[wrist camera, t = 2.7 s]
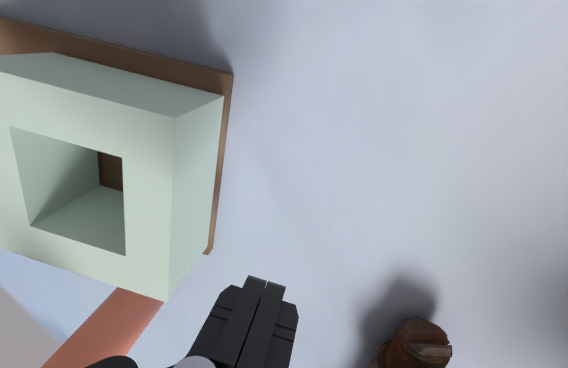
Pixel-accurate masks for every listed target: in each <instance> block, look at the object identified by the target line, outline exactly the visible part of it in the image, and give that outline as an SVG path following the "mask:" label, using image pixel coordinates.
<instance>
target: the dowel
mask: <svg viewBox="0 0 568 368" xmlns="http://www.w3.org/2000/svg"><path fill="white" fill-rule="evenodd" d="M163 303H164V302H163V301H160V300H157V299H154V298H151V297H147V296H144V295H141V294H138V293H135V292H132V291H129V290H126V289H123V288H120V287H117V288H116V289H115V290H114V292H113V293H112V294H111V295H110V296H109V297H108V298H107V299H106V300H105V301H104V302H103V303H102V304H101V305H100V306H99V307H98V308H97V309H96V310H95V311H94V312H93V314H92V315H91V316H90V317H89V318H88V319H87V320H86V321H85V322H84V323H83V324H82V325H81V326H80V327H79V328H78V329H77V330H76V331H75V332H74V333H73V334H72V336H71V337H70V338H69V339H68V340H67V341H66V342H65V343H64V344H63V345H62V346H61V347H60V348H59V349H58V350H57V351H56V353H54V355H52V357H51V358H50V359H49V360H48V361H47V362H46V363H45V364H44V365H43V366H42V367H41V368H85V367H87V366H89V365H91V364H93V363H96V362H98V361H100V360H102V359H105V358H107V357H111V356H117V355H121V356H126V354H127V353H128V351H129V350H130V349H131V347H132V346H133V345H134V343H135V342H136V340H137V339H138V338H139V336H140V335H141V334H142V332H143V331H144V329H145V328H146V327H147V325H148V324H149V323H150V321H151V320H152V318H153V317H154V316H155V314H156V313H157V312H158V310H159V309H160V307H161V306H162V305H163Z"/></svg>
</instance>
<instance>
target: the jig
mask: <svg viewBox="0 0 568 368" xmlns="http://www.w3.org/2000/svg"><path fill="white" fill-rule="evenodd" d="M48 52H54V53H57V54H61V55H65V56H69V57H73V58H77V59H81V60H85V61H89V62H93V63H97V64H101V65H105V66H108V67H112V68H116V69H120V70H124V71H128V72H132V73H136V74H140V75H144V76H148V77H152V78H156V79H160V80H163V81H167V82H171V83H175V84H179V85H183V86H187V87H191V88H195V89H199V90H203V91H207V92H211V93H214V94H218V95H222V96H224V102H223V111H222V120H221V129H220V138H219V147H218V156H217V165H216V174H215V183H214V192H213V201H212V210H211V218H210V227H209V236H208V245H207V248H206V249H205V250H204V252H203V253H202V254H206V255H208V254H209V253H210V251H211V250H212V248H213V241H214V233H215V225H216V217H217V208H218V200H219V192H220V184H221V175H222V167H223V159H224V151H225V143H226V134H227V126H228V118H229V110H230V101H231V93H232V85H233V77H234V74H232V73H228V72H224V71H220V70H216V69H212V68H208V67H204V66H200V65H196V64H192V63H188V62H184V61H180V60H176V59H172V58H167V57H163V56H159V55H155V54H151V53H147V52H143V51H139V50H135V49H131V48H127V47H123V46H119V45H115V44H111V43H107V42H103V41H99V40H95V39H91V38H86V37H82V36H78V35H74V34H70V33H66V32H62V31H58V30H54V29H50V28H46V27H42V26H38V25H34V24H30V23H26V22H22V21H18V20H14V19H10V18H6V17H1V16H0V55H12V54H30V53H48ZM97 155H98V168H99V181H100V185H101V186H104V187H107V188H111V189H114V190H118V191H121V192H123V168H122V158H121V157H118V156H114V155H111V154H107V153H104V152H100V151H97Z"/></svg>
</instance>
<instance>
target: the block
mask: <svg viewBox="0 0 568 368" xmlns="http://www.w3.org/2000/svg"><path fill="white" fill-rule="evenodd" d="M223 102H224V96H222V95H218V94H214V93H211V92H207V91H203V90H199V89H195V88H191V87H187V86H183V85H179V84H175V83H171V82H167V81H163V80H160V79H156V78H152V77H148V76H144V75H140V74H136V73H132V72H128V71H124V70H120V69H116V68H112V67H108V66H105V65H101V64H97V63H93V62H89V61H85V60H81V59H77V58H73V57H69V56H65V55H61V54H57V53H54V52H48V53H30V54H12V55H0V249H3V250H6V251H9V252H13V253H16V254H19V255H22V256H25V257H28V258H31V259H34V260H37V261H40V262H43V263H46V264H49V265H52V266H55V267H59V268H62V269H65V270H68V271H71V272H74V273H77V274H80V275H83V276H86V277H89V278H92V279H95V280H98V281H101V282H105V283H108V284H111V285H114V286H117V287H120V288H123V289H126V290H129V291H132V292H135V293H138V294H141V295H144V296H147V297H151V298H154V299H157V300H160V301H163V302H166V303H168V301H169V300H170V299H171V297H172V296H173V294H174V293H175V292H176V290H177V289H178V287H179V286H180V284H181V283H182V282H183V280H184V279H185V277H186V276H187V275H188V273H189V272H190V270H191V269H192V267H193V266H194V265H195V263H196V262H197V260H198V259H199V258H200V256H201V255H202V253H203V252H204V250H205V249H206V248H207V245H208V236H209V227H210V218H211V210H212V201H213V192H214V183H215V174H216V165H217V156H218V147H219V138H220V129H221V120H222V111H223ZM97 151H100V152H104V153H107V154H111V155H114V156H118V157H121V158H122V168H123V192H121V191H118V190H114V189H111V188H107V187H104V186H101V185H100V181H99V168H98V155H97Z"/></svg>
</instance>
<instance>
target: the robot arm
mask: <svg viewBox="0 0 568 368" xmlns="http://www.w3.org/2000/svg"><path fill="white" fill-rule="evenodd" d="M266 282H267V281H266V280H262V279H259V278H256V277H253V276H250V275H249V276H248V277H247V279H246V281H245V283H244V286H243V288H240V287H237V286H234V285H230V286H229V287H227V288H226V289H225V290H224V291H222V292H221V293H220V295H219V297H218V299H217V301H216V302H215V305H214V306H213V308H212V310H211V312H210V314H209V316H208V317H207V319H206V321H205V323H204V325H203V327H202V329H201V330H200V332H199V334H198V336H197V338H196V340H195V342H194V343H193V345H192V347H191V349H190V351H189V352H188V354H187V355H186V356H185V358H183V359H182V360H180V361H179V362H178V363H177V364H175V365H173V366H170V367H168V368H288V367H289V363H290V358H291V353H292V348H293V342H294V338H295V332H296V328H297V323H298V318H299V317H298V313H297V309H296V305H294V304H291V303H288V302H285V301H282V299H283V295H284V292H285V288H286V287H285V286H282V285H279V284H276V283H272V282H269V281H268V282H267V285H266ZM265 286H266V287H265ZM85 368H138V366H137V364H136V363H135V361H134V360H132V359H131V358H129V357H127V356H121V355H117V356H111V357H107V358H105V359H102V360H100V361H98V362H96V363H93V364H91V365H89V366H87V367H85Z"/></svg>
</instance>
